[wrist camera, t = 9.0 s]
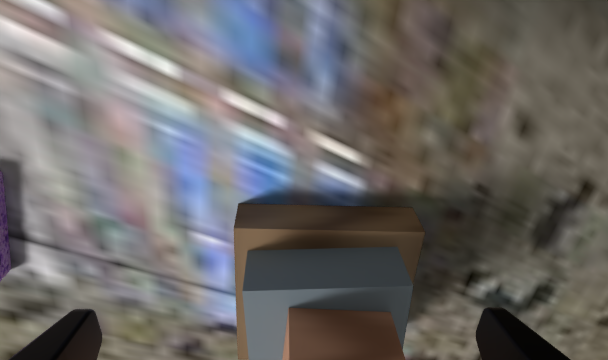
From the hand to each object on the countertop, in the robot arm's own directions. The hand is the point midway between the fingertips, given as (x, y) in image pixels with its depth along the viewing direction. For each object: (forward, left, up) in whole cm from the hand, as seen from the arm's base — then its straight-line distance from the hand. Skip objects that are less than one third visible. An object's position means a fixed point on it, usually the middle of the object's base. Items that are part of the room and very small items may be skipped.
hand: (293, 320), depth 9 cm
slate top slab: (-2, +10, -10) cm, 14 cm away
